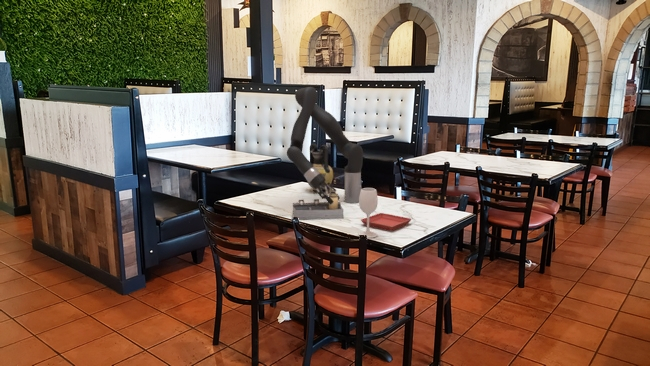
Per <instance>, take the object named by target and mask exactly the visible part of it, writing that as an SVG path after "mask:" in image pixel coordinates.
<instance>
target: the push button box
mask: <svg viewBox="0 0 650 366" xmlns="http://www.w3.org/2000/svg"><path fill="white" fill-rule="evenodd" d="M292 217H293V218H294V217H298V218H299V220H298V221H302V220H303V221H305V220H306V221H307V220H308V221H309V220H311V221H313V220H335V219H337V220H338V219H344V218H345V216H344V208H343V207H342V203H341V201H338V209H329V202H328V201H321V202H320V199H318V198H314V199H313V202H305V201H304V199H299V200H298V202H295V203H294V202H293V203H292Z"/></svg>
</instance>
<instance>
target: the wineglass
mask: <svg viewBox="0 0 650 366" xmlns="http://www.w3.org/2000/svg"><path fill="white" fill-rule="evenodd" d="M358 203H359V204H358V206H359V209H360V210H361V212H362V213H364V214H365V215H366V218H367V226H366V230H365V231H361V232H359V233H358V235H357V236H359V235H367V239H372V238H376V237H378V234H377V232H374V231H370V227H369V217H370V216H371V214H373V213H374V212H376V209H377V208H378V191H377V189H375V188H373V187H364V188H361V192H360V197H359V202H358Z"/></svg>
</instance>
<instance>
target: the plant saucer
mask: <svg viewBox="0 0 650 366" xmlns="http://www.w3.org/2000/svg"><path fill="white" fill-rule="evenodd" d="M411 221H412V218H410V217H406V216H405V217H404V216H399V215H394V214H389V213H384V212H379V213H377V214H374V215H370V216H369V228H370V227H371V228H375V229H379V230H383V231H388V232H392V231H394V230H397V229H399V228H402V227H404V226H406V225H408V224H409V223H410V222H411ZM360 222H361V223H362V224H363V225H364V226H366V227H367V217H365V218H364V217H363V218H361V219H360Z"/></svg>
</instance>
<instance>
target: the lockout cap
mask: <svg viewBox="0 0 650 366" xmlns="http://www.w3.org/2000/svg"><path fill="white" fill-rule="evenodd" d="M338 196H339V193H331V194H328V197H330V198H331V199H332V200H333V201H334V202H333V203H332V204H329V209H338V202H339V200H338Z"/></svg>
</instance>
